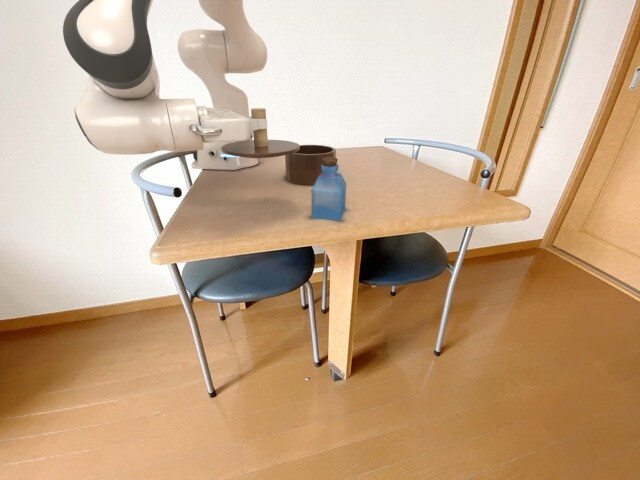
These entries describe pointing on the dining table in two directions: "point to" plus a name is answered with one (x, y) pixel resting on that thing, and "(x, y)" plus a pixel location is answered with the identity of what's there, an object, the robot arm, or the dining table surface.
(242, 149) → the lid
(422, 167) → the dining table surface
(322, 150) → the dark brown pot
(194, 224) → the dining table surface
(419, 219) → the dining table surface
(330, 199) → the perfume bottle
